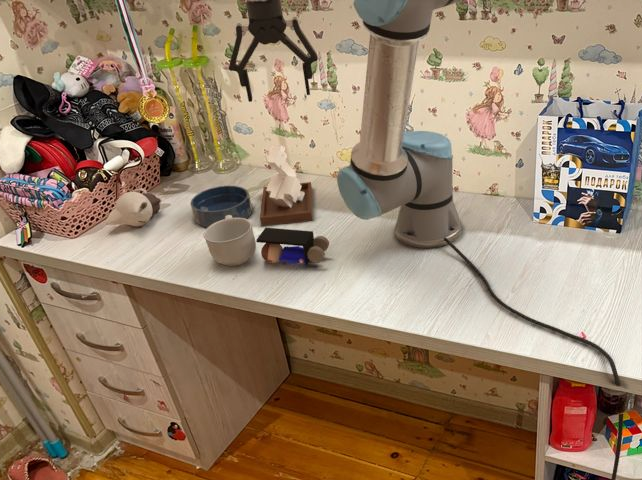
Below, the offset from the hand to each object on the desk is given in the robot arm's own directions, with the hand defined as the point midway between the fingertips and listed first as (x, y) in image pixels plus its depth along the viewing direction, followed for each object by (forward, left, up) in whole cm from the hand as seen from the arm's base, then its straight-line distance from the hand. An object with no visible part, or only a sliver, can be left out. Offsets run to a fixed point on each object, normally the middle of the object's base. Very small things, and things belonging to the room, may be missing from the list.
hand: (279, 96), depth 163 cm
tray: (-2, +2, -27) cm, 27 cm away
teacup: (-24, +14, -27) cm, 39 cm away
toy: (-1, +41, -27) cm, 49 cm away
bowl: (-2, +19, -27) cm, 33 cm away
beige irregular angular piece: (-2, +2, -27) cm, 27 cm away
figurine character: (-30, 0, -27) cm, 41 cm away
